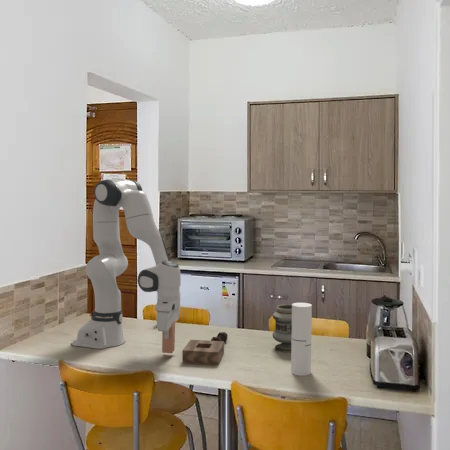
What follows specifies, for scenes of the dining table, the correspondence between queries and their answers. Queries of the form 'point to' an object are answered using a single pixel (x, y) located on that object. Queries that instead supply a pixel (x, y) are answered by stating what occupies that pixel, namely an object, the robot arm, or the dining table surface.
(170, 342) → the peg
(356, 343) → the dining table surface
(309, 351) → the cylindrical container
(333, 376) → the dining table surface
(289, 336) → the apothecary jar
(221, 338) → the bolt
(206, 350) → the socket block
